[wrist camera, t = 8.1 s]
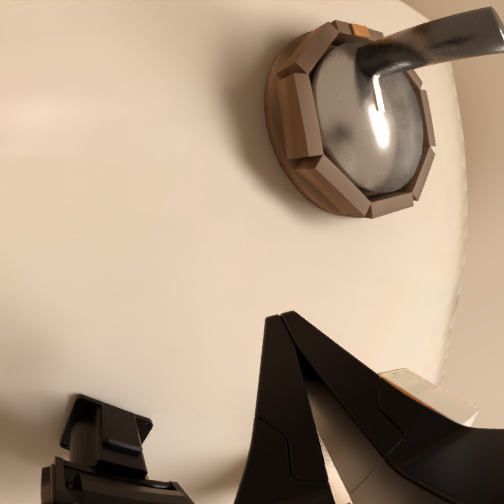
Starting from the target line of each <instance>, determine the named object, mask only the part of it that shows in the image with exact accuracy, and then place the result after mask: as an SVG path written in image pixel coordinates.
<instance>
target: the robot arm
mask: <svg viewBox="0 0 504 504" xmlns="http://www.w3.org/2000/svg"><path fill="white" fill-rule="evenodd" d="M80 400H83V401H84V402H80ZM146 423H148V424H147V425H145V424H146ZM152 427H153V424H152V420H151V419H149V418H146V417H143V416H139V415H136V414H134V413H131V412H128V411H125V410H122V409H119V408H117V407H114V406H111V405H108V404H105V403H102V402H100V401H97V400H95V399H92V398H90V397H87V396H85V395H78V396H77V397H76V399H75V401H74V404H73V406H72V409H71V411H70V414H69V416H68V419H67V422H66V424H65V427H64V430H63V433H62V435H61V438H60V446H61V447H62V448H64V449H67V450H69V451H70V462H69V461H65V460H63V458H60V457H57V456H55V460H54V464H51V466H50V467H45V468H42V474H41V504H194V502H193V501H192V500H191V499H190V498H189V496H188V495H187V494H186V493H185V492H184V490H183V489H182V488H181V487H180V485H179V484H178V483H177V482H171V481H169V482H162V481H154V480H149V479H148V476H147V473H148V472H147V468H146V464H145V460H144V456H143V452H142V450H143V449H142V444H143V442H144V440H145V439H146V437H147V435H148V434H149V432H150V430H151V429H152ZM316 428H317V430H318V432H319V434H320V436H321V438H322V441H323V443H324V445H325V447H326V449H327V451H328V453H329V455H330V457H331V459H332V462H333V464H334V466H335V468H336V470H337V472H338V474H339V476H340V478H341V480H342V482H343V484H344V487H345V489H346V491H347V493H348V495H349V497H350V499H351V501H352V503H353V504H504V429H486V428H485V429H484V428H473V427H468V426H465V425H462V424H459V423H457V422H455V421H453V420H451V419H449V418H447V417H445V416H443V415H442V414H440V413H438V412H436V411H434V410H432V409H431V408H429V407H427V406H425V405H423V404H421V403H420V402H418V401H416V400H415V399H413V398H411V397H410V396H408V395H406V394H405V393H403V392H402V391H400V390H399V389H397V388H396V387H395V386H393V385H392V384H390V383H389V382H388V381H386V380H385V379H384V378H382V377H381V378H380V376H379V375H378V374H377V373H375V372H374V371H373V370H371V369H370V368H369V367H367V366H366V365H365V364H363V363H362V362H361V361H359V360H358V359H357V358H355V357H354V356H353V355H351V354H350V353H349V352H347V351H346V350H345V349H343V348H342V347H341V346H339V345H338V344H337V343H335V342H334V341H333V340H332V339H330V338H329V337H328V336H326V335H325V334H324V333H322V332H321V331H320V330H318V329H317V328H316V327H315V326H313V325H312V324H311V323H309V322H308V321H307V320H305V319H304V318H303V317H302V316H300V315H299V314H298V313H296V312H295V311H289V312H285V313H281V314H280V315H278V314H277V315H273V316H269V317H266V318H265V326H264V336H263V345H262V355H261V364H260V373H259V382H258V391H257V400H256V409H255V418H254V424H253V432H252V438H251V444H250V449H249V453H248V457H247V461H246V465H245V469H244V472H243V475H242V479H241V482H240V485H239V488H238V492H237V495H236V498H235V501H234V504H336V503H335V500H334V497H333V494H332V491H331V487H330V483H329V482H328V481H329V478H328V474H327V470H326V466H325V462H324V458H323V454H322V450H321V446H320V442H319V438H318V434H317V430H316ZM64 443H66V444H64Z"/></svg>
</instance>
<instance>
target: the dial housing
mask: <svg viewBox="0 0 504 504" xmlns="http://www.w3.org/2000/svg"><path fill="white" fill-rule="evenodd" d="M381 38H383V33H381V32H378V31H375V30H372V29H368V28H367V27H366V26H361V25H357V24H350V23H346V22H342V21H338V20H334V21H333V22H331V23H329V22H327V23H325V24H324V25H322V26H320V27H319V28H317V29H315V30H314V31H311V32H308V33H306V34H303V35H302V36H300V37H298V38H297V39H295V40H294V41H292V42H291V43H289V44H288V45H287V46H286V47H285V48H284V49H283V50H282V51H281V52H280V53H279V55H278V56H277V58H276V59H275V61H274V63H273V65H272V67H271V69H270V72H269V75H268V79H267V82H266V89H265V117H266V124H267V128H268V133H269V137H270V140H271V143H272V146H273V148H274V151H275V154H276V156H277V158H278V160H279V162H280V164H281V166H282V168H283V169H284V171H285V172H286V174H287V175H288V177H289V179H290V180H291V181H292V182H293V184H294V185H295V186H296V187H297V189H298V190H299V191H300V192H301V193H302V194H303V195H304V196H305V197H307V198H308V199H309V200H310V201H312V202H313V203H314V204H316V205H317V206H318V207H320V208H322V209H324V210H326V211H328V212H331V213H334V214H336V215H341V216H347V217H354V218H371V219H373V218H376V217H380V216H383V215H386V214H389V213H392V212H396V211H399V210H402V209H405V208H409V207H412V206H413V200H415V201H418V200H419V197H420V195H421V192H422V190H423V187H424V184H425V182H426V179H427V176H428V173H429V171H430V168H431V165H432V162H433V159H434V156H435V153H434V152H433V150H432V148H431V147H430V146H436V145H435V137H434V131H433V124H432V118H431V113H430V107H429V102H428V97H427V93H426V90H421V89H420V88H421V86H422V83H423V82H422V81H421V79H420V78H419V77H418V75H417V74H416V72H415V71H414V70H413V69H412V70H408V71H404V72H403V73H404V75H405V76H406V78H407V79H408V81H409V83H410V85H411V87H412V89H413V91H414V93H415V96H416V98H417V101H418V105H419V108H420V112H421V117H422V124H423V147H422V153H421V158H420V161H419V164H418V167H417V169H416V171H415V173H414V175H413V176H412V178H411V179H410V180H409V181H408V183H406V184H405V185H404V186H403V187H402V188H400V189H398V190H396V191H393V192H388V193H379V192H363V191H360V190H359V189H358V188H357V187H356V186H355V185H354V184H353V183H352V182H351V181H350V180H349V179H348V178H347V177H346V176H345V175H344V174H343V173H342V172H341V171H340V170H339V169H338V168H337V167H336V166H335V165H334V164H333V163H332V162H331V161H330V160H329V159H328V158H327V157H326V156H325V155H324V153H323V147H322V141H321V135H320V129H319V124H318V118H317V113H316V108H315V103H314V98H313V93H312V88H311V83H310V79H309V73H310V71H311V70H312V69H313V67H314V66H315V65H316V63H317V62H318V60H319V59H320V58H321V56H322V55H323V54H324V53H325V52H327V51H329V50H331V49H334V48H336V47H338V46H340V45H342V44H345V43H349V42H360V43H365V44H368V43H370V42H373V41H375V40H378V39H381Z"/></svg>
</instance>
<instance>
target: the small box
mask: <svg viewBox="0 0 504 504" xmlns="http://www.w3.org/2000/svg"><path fill="white" fill-rule="evenodd" d="M378 375H379V376H380V378H381V377H382V378H384V379H385V380H386V381H388V382H389V383H390V384H392V385H393V386H395V387H396V388H397V389H399V390H400V391H402V392H403V393H405V394H406V395H408V396H410V397H411V398H413V399H415V400H416V401H418V402H420V403H421V404H423V405H425V406H427V407H429V408H431V409H432V410H434V411H436V412H438V413H440V414H442V415H443V416H445V417H447V418H449V419H451V420H453V421H455V422H457V423H459V424H462V425H465V426H468V427H470V426H471V424H472V422H473V420H474V418H475V417H476V415H477V413H478V411H479V409H478V408H476V407H474V406H472V405H471V404H469V403H467V402H465V401H463V400H461V399H460V398H458V397H456V396H454V395H452V394H451V393H449V392H447V391H445V390H443V389H442V388H440V387H438V386H437V385H435V384H433V383H431V382H430V381H428V380H426V379H424V378H422V377H421V376H419V375H417V374H415V373H413V372H412V371H410V370H408V369H406V368H403V369H398V370H394V371H390V372H386V373H381V374H378Z"/></svg>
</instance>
